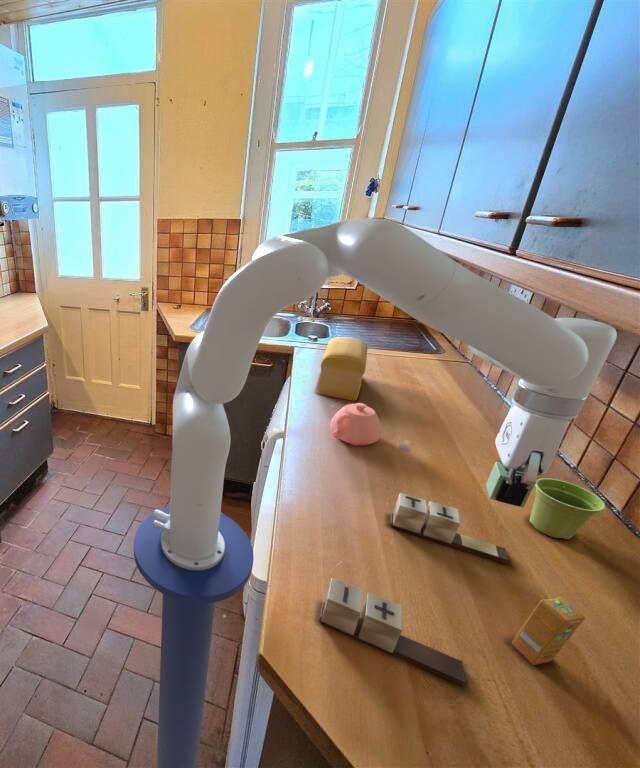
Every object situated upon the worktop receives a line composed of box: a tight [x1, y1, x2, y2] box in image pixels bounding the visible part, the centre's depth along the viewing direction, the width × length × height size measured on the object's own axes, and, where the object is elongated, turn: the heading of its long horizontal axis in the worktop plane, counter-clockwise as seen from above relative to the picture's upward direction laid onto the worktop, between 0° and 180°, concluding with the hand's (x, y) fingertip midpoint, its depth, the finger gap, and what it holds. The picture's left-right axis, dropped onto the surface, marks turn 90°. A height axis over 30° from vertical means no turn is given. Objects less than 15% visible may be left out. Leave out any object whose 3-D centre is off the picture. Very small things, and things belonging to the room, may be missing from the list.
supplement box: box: [511, 596, 586, 666], centre depth 56 cm, size 3×3×10 cm
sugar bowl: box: [329, 402, 382, 447], centre depth 109 cm, size 12×14×10 cm
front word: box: [318, 577, 466, 687], centre depth 59 cm, size 18×4×6 cm, turn 58°
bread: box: [316, 336, 369, 402], centre depth 140 cm, size 24×13×15 cm, turn 150°
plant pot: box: [529, 477, 606, 540], centre depth 78 cm, size 9×9×9 cm
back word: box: [389, 492, 509, 565], centre depth 77 cm, size 18×4×6 cm, turn 58°
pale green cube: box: [485, 461, 535, 509], centre depth 69 cm, size 4×4×5 cm
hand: (504, 493), depth 70 cm, fingers closed on pale green cube, 4 cm apart
